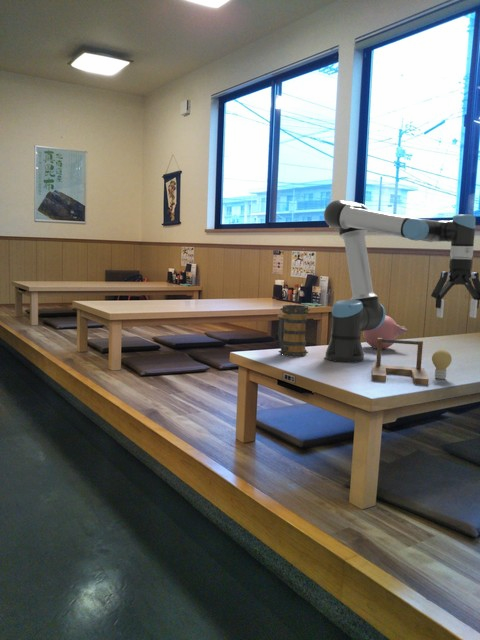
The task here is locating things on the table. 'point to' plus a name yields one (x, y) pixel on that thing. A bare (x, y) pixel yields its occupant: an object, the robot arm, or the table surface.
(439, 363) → the light bulb
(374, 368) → the wooden rack frame
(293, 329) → the mug
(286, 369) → the table surface
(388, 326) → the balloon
